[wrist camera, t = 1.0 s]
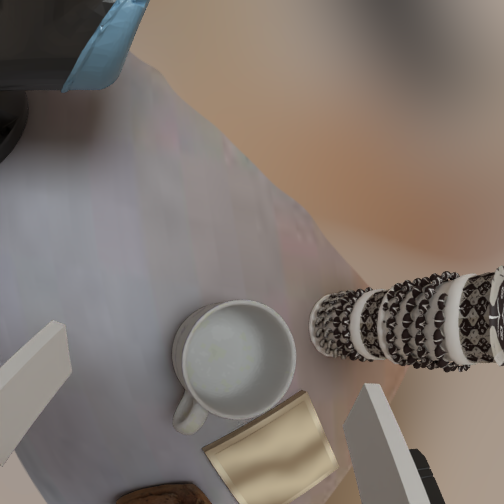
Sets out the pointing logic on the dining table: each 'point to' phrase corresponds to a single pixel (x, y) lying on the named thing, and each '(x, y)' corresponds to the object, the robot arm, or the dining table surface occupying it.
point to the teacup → (231, 362)
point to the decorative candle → (416, 322)
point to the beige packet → (275, 454)
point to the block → (166, 495)
